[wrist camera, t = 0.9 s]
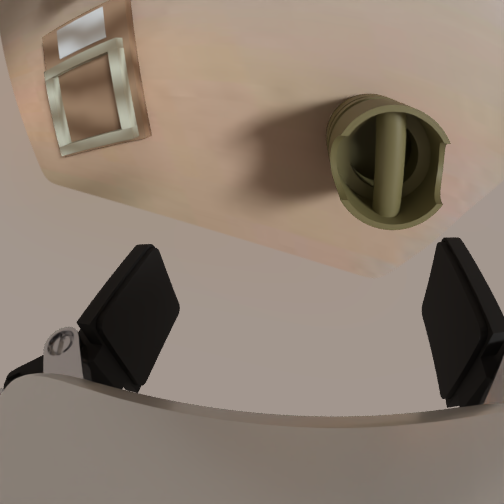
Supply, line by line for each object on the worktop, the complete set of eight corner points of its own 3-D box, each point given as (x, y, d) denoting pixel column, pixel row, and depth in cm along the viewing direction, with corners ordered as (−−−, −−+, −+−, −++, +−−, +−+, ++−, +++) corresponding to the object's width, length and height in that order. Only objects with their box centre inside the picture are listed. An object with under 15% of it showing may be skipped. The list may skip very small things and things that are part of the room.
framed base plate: (48, 36, 29) (35, 38, 27) (129, -5, 26) (117, -8, 24) (70, 154, 41) (58, 160, 38) (151, 135, 37) (140, 140, 35)
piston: (460, 113, 19) (444, 231, 25) (417, 98, 28) (412, 185, 34) (329, 101, 21) (330, 228, 27) (324, 92, 31) (326, 182, 37)
